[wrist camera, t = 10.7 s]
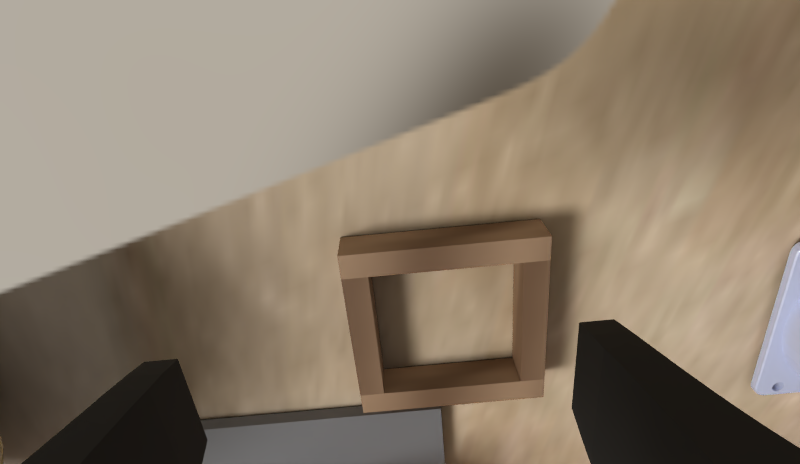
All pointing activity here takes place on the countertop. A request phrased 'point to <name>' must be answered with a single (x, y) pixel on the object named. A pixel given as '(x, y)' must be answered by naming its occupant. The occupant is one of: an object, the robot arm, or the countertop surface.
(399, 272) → the square wooden frame
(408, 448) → the rubber mat
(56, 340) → the countertop surface
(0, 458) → the cantaloupe
